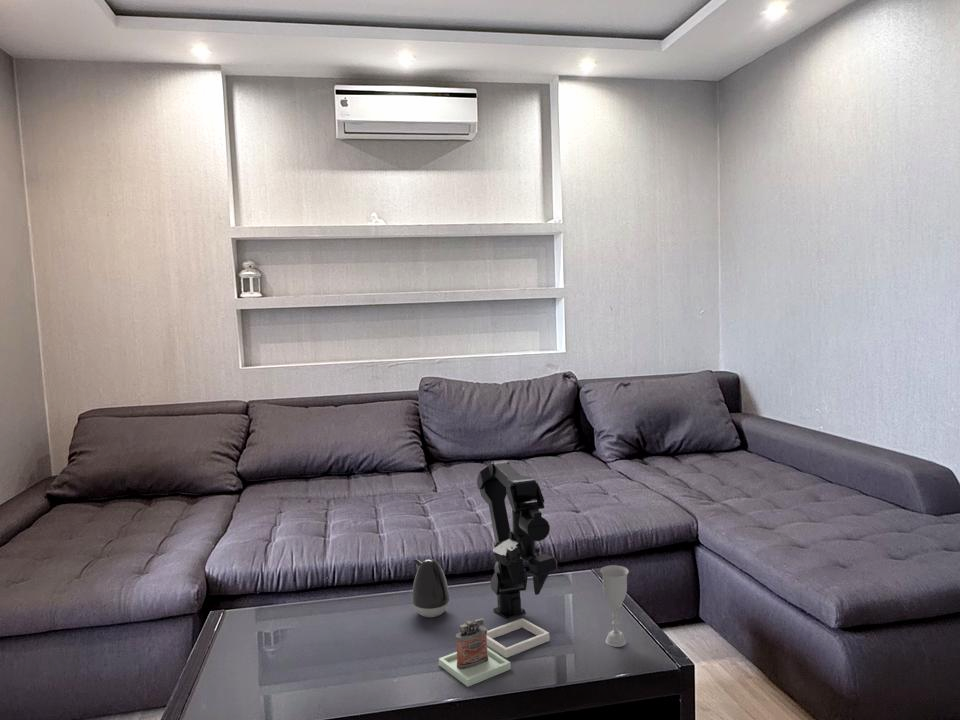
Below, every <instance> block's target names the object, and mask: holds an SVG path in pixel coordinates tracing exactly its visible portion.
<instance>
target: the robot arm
mask: <svg viewBox="0 0 960 720" xmlns="http://www.w3.org/2000/svg"><path fill="white" fill-rule="evenodd" d="M476 485H477V488H478V490H479V491H480V496H481V498H482V499H483V500H484V501H485V502H486V504H487V505H488V509H489V515H490V520H491V524H492V525H491V526H492V529H493V530H492V531H493V535H494V536H493V537H494V541H495V545H494V548H493V549H492V552H493V555H494V558H495V561H496V562H495V564H494V568H493V569H494V573H493V575H492V577H491V580H490V587H491V590H492V591H493V593H495V595H496V597H497V607H495V608H493V609H492V610H493V612H494V613H497V614H498V615H500V616H502V617H503V618H505V619H510V618H512V617H513V618H514V617H515V616H518V615H521V614H523V613H526V609H524V608H522V598H521V591H522V592H523V591H524V592H525V591H527V585H528V575H529V574H528V573H530V574H531V576H532V582H533V583H532V584H533V589H534V590H533V592H534V595H535V596H537V595H539V594H540V593H541V591H542V589H543V586H544V584H545V582H546V581H547V578H548V576H549V575H550V573H551V572H553V571H554V570H557V569H558V561H557V559H556V558H555V557H553V556H552V555H549V554H546V553H543V554H539V555H536V554H538V553H540V547H537V542H541V541H543V540H545V539H546V538H547V537H548V536H549V534H550V531H551V527H550V526H551V525H550V523H549V522H548V520H547V519H546V518H544V517H543V514H542V512H541V511H540V510H541V509H542V510H543V509H545V504H544V502H545V498H544V496H543V492H542V490H541V487H540V486H539V483H538V482H537V480H536V479H535V478H534V477H532V476H528V475H522V474H520V473H519V472H518V471H517V470H516V469H515V468H513V467H512V466H511V464H510V462H509V461H508V460H506V459H501V460H500V459H499V460H492V461H491V462H489V463H488V465H487V466H486V467H485V468H483V469H481V471H479V473H478V476H477V478H476ZM506 497H507V499H508V502H509V505H510V507H511V517H512V520H511V521H512V522H511V523H512V531H511V528H510V522H509V521H510V520H509V517H508V512H507V505H506ZM524 560H526V561H527V562H528V568H529V570H528V571H527V570H526V568H525V566H524Z"/></svg>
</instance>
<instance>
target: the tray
mask: <svg viewBox="0 0 960 720" xmlns="http://www.w3.org/2000/svg"><path fill="white" fill-rule="evenodd" d="M487 655H488V661H487V662H485V663H483V664H480V665H478V666H475V667H472V668H468V669H458V668H457V651H454V652H452V653H449V654H447V655H444V656H442V657H439V658H438V666H439V667H440V668H442V669H444V671H446V672H447V673H449V675H450V674H451V676H453V678H455V679H457V680H458V682H461V683H462V684H463V685H464V686H466V687H471V686H473V685H475V684H478V683H480V682H481V683H482V682H483V681H485V680H488V679H490V678H493V677H495V676H497V675H499V674H502V673H505V672H507V671H510V670H512V665H511V661H509V660H508V659H507V658H505V657H504V656H502V655H501V654H499V653H497V652H496V651H494V650H493V649H491V648H490V647H488V646H487Z"/></svg>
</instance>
